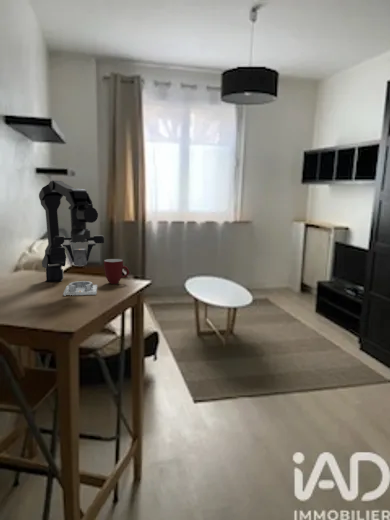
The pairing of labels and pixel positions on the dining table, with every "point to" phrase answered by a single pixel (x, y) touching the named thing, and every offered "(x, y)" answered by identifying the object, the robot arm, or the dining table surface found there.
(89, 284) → the hub
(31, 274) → the dining table surface
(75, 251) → the knob
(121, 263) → the mug
